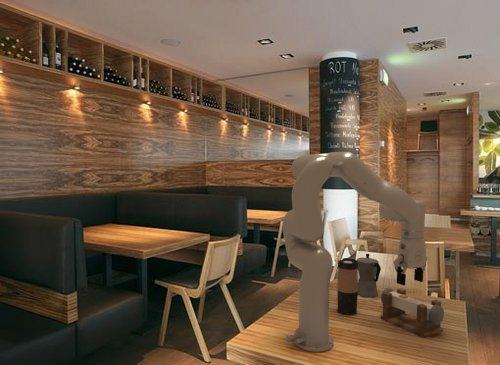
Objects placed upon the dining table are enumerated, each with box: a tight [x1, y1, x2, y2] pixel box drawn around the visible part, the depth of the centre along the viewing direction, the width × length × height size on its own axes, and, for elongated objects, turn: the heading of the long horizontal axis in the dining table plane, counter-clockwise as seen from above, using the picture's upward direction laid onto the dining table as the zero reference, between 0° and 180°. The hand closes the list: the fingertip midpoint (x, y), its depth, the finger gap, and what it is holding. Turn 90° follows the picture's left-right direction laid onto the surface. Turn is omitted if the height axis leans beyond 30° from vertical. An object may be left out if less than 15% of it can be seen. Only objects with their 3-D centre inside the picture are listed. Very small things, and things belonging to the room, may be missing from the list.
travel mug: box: [336, 258, 359, 316], centre depth 145 cm, size 8×8×20 cm
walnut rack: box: [380, 287, 444, 339], centre depth 134 cm, size 18×10×10 cm, turn 31°
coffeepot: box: [356, 253, 382, 298], centre depth 164 cm, size 15×9×18 cm, turn 17°
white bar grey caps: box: [380, 287, 445, 325], centre depth 134 cm, size 21×6×6 cm, turn 31°
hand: (409, 282), depth 133 cm, fingers open, 9 cm apart
